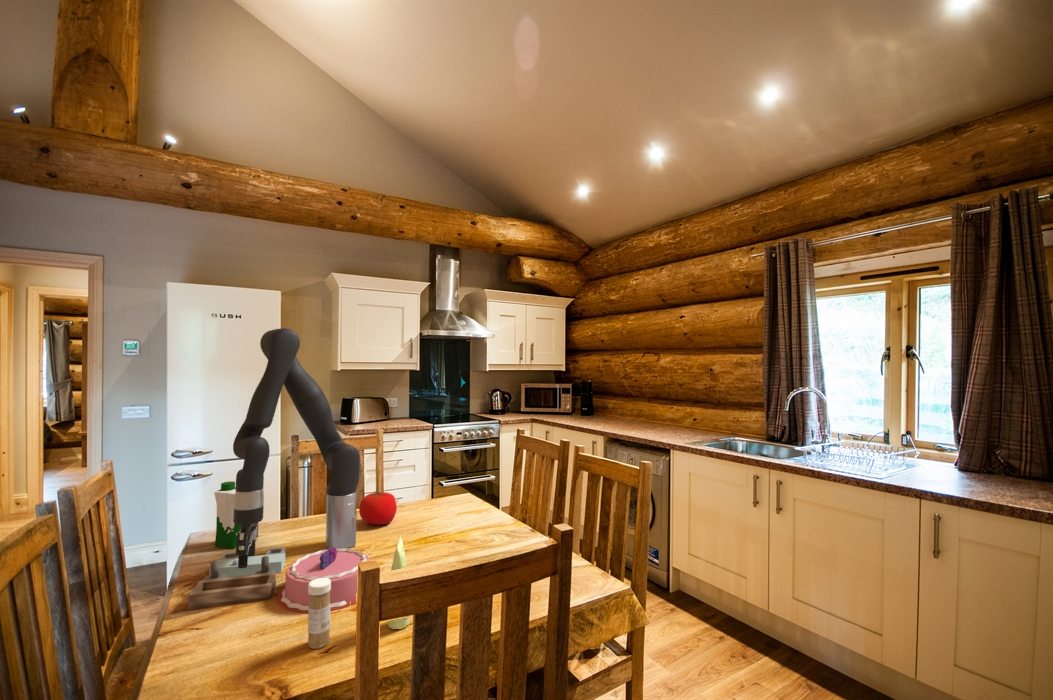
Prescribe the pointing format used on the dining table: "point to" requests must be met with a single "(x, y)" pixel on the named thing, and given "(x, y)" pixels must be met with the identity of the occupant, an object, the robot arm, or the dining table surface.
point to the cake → (322, 565)
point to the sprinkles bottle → (319, 613)
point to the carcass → (233, 587)
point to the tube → (397, 563)
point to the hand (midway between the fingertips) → (246, 561)
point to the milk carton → (226, 516)
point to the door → (250, 563)
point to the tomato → (378, 508)
